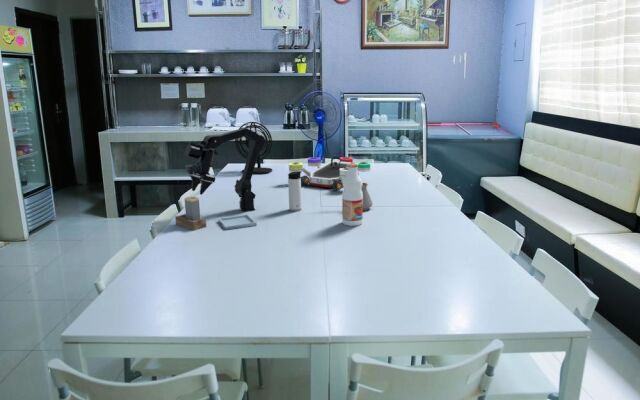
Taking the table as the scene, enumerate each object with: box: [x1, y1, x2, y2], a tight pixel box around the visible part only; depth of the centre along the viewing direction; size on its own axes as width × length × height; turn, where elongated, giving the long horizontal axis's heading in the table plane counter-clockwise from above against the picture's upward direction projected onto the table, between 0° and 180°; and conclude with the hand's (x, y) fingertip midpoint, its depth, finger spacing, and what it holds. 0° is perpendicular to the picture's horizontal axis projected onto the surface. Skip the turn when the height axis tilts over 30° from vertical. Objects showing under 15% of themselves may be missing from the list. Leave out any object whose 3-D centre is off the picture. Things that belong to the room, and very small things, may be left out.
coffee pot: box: [331, 179, 374, 211], centre depth 263 cm, size 21×12×15 cm, turn 79°
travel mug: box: [287, 171, 302, 212], centre depth 261 cm, size 6×7×20 cm
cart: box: [288, 156, 371, 191], centre depth 320 cm, size 45×39×16 cm
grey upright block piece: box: [184, 196, 201, 221], centre depth 240 cm, size 6×7×13 cm
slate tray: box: [217, 214, 258, 231], centre depth 243 cm, size 15×15×2 cm
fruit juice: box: [341, 162, 364, 227], centre depth 237 cm, size 9×9×28 cm
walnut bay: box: [174, 213, 207, 231], centre depth 240 cm, size 7×14×4 cm, turn 49°
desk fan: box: [234, 121, 273, 175], centre depth 352 cm, size 27×18×35 cm, turn 74°
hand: (196, 192), depth 247 cm, fingers open, 9 cm apart
